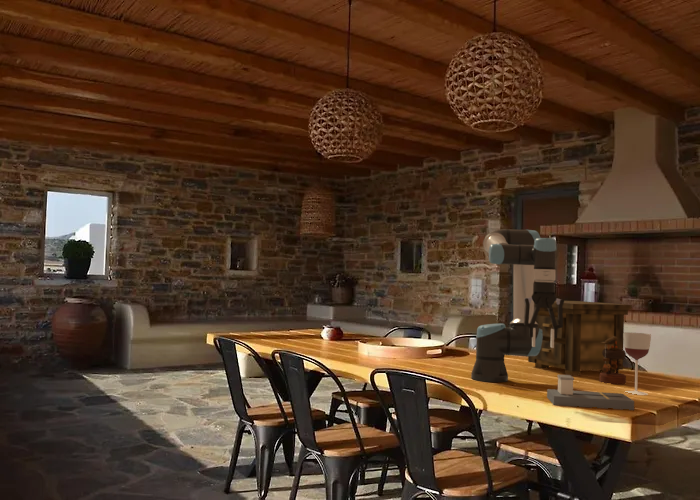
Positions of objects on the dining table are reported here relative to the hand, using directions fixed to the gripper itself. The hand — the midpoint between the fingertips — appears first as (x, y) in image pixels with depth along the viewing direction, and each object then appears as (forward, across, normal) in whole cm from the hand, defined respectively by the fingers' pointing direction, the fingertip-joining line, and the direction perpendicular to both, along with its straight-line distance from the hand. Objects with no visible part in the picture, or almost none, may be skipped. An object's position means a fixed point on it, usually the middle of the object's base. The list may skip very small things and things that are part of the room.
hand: (542, 346), depth 223 cm
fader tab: (+16, +8, 0) cm, 18 cm away
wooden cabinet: (+19, +28, +85) cm, 92 cm away
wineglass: (+19, +40, +29) cm, 53 cm away
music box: (+19, +38, +54) cm, 69 cm away
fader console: (+19, +16, 0) cm, 25 cm away
